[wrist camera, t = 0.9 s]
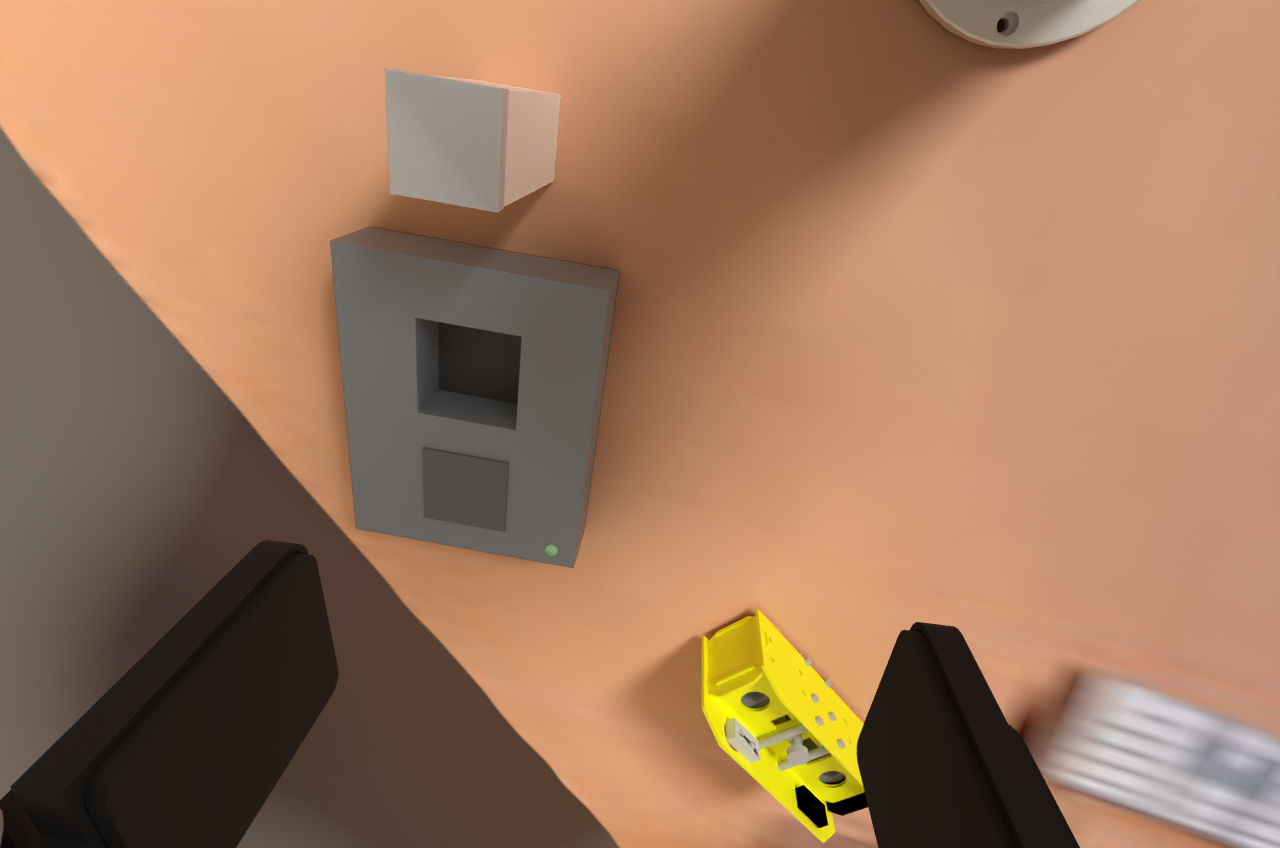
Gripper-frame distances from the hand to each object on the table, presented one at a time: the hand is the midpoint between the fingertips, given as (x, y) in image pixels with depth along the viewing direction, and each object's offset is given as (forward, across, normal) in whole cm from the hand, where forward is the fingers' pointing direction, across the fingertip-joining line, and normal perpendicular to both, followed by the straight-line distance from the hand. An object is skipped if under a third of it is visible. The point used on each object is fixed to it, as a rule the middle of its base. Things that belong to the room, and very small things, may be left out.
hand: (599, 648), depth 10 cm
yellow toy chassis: (+27, -13, +30) cm, 42 cm away
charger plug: (+26, +8, -6) cm, 28 cm away
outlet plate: (+26, +10, +9) cm, 30 cm away
